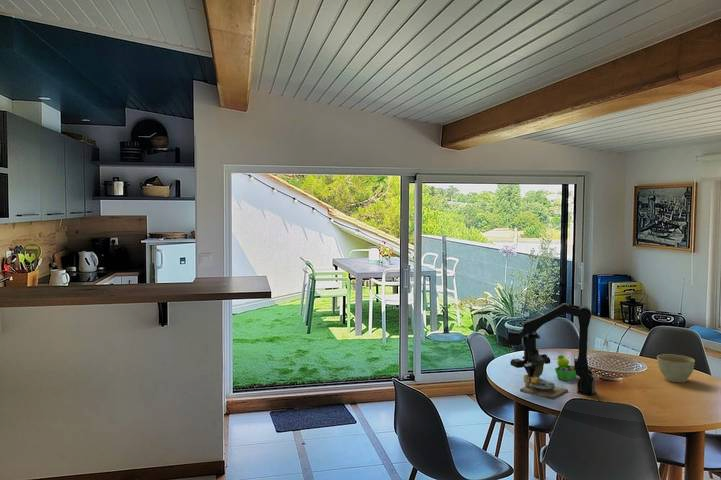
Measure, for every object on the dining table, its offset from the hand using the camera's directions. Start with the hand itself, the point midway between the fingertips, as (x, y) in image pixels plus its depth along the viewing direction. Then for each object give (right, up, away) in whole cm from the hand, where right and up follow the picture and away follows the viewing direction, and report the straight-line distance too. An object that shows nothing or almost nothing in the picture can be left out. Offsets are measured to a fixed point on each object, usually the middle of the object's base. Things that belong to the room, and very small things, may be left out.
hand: (530, 379), depth 255 cm
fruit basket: (+22, -3, +14) cm, 26 cm away
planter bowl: (+74, -3, +9) cm, 75 cm away
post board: (+4, -4, -7) cm, 9 cm away
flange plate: (+2, -1, -6) cm, 6 cm away
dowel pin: (-3, -4, -4) cm, 6 cm away
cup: (+7, -3, +12) cm, 14 cm away
